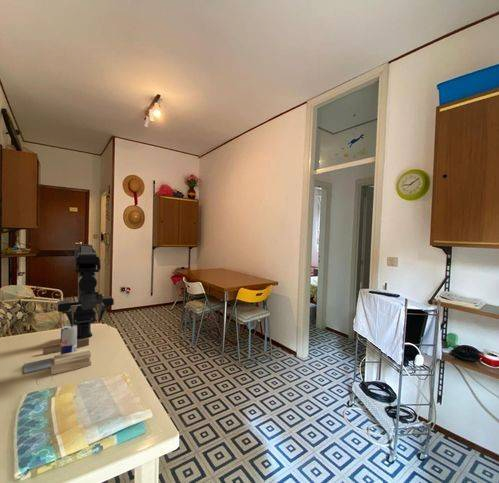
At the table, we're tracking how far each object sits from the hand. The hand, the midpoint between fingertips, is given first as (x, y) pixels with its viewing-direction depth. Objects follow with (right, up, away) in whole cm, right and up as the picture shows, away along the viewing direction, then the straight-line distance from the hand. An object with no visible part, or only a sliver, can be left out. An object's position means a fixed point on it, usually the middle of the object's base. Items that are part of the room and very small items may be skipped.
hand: (85, 324), depth 106 cm
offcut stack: (-1, -14, -7) cm, 15 cm away
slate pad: (-13, -13, -7) cm, 20 cm away
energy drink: (-8, -13, +1) cm, 16 cm away
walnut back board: (-13, -13, +8) cm, 19 cm away
